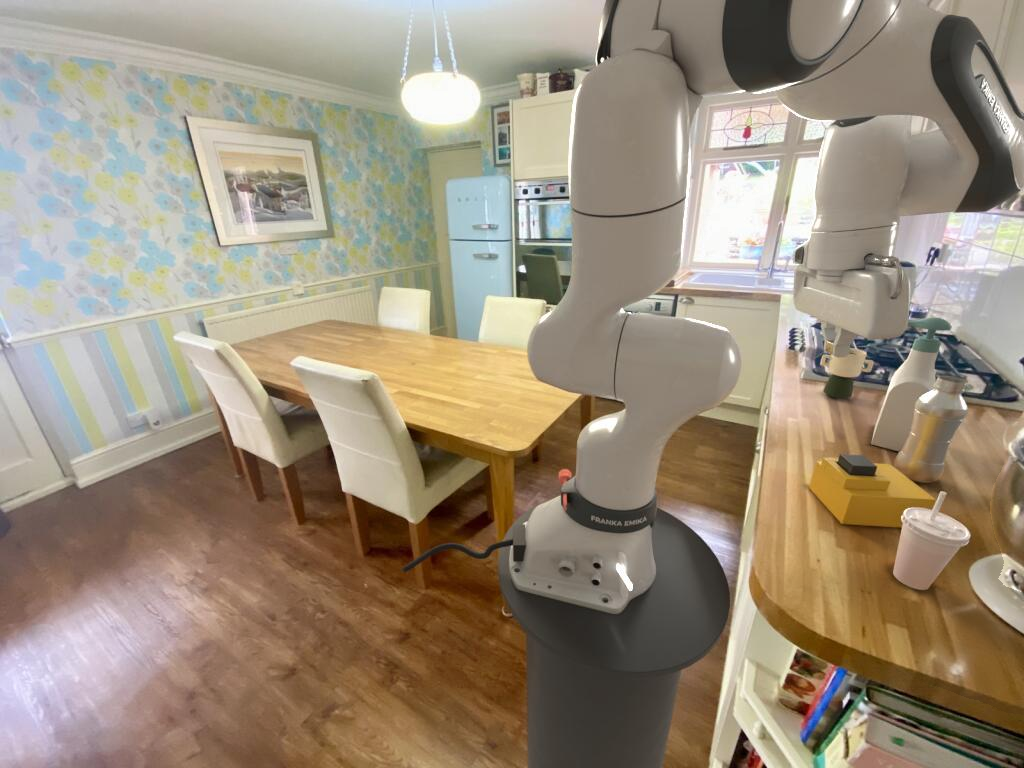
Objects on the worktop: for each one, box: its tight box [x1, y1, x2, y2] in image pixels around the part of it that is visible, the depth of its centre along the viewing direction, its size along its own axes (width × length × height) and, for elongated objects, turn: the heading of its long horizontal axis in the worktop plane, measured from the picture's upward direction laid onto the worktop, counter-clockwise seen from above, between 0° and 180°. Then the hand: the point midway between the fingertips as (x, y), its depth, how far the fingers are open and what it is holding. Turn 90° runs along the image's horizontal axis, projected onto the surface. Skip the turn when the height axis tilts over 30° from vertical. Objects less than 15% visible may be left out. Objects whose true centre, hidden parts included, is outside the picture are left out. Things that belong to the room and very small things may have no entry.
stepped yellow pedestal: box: [808, 457, 937, 529], centre depth 70 cm, size 12×10×8 cm
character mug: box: [819, 347, 875, 399], centre depth 111 cm, size 11×7×13 cm, turn 57°
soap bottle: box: [870, 316, 953, 453], centre depth 87 cm, size 11×8×27 cm
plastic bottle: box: [893, 375, 969, 484], centre depth 75 cm, size 6×7×20 cm
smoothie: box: [892, 490, 971, 591], centre depth 55 cm, size 6×6×14 cm
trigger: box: [837, 453, 877, 476], centre depth 69 cm, size 4×4×2 cm
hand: (835, 354), depth 58 cm, fingers closed
